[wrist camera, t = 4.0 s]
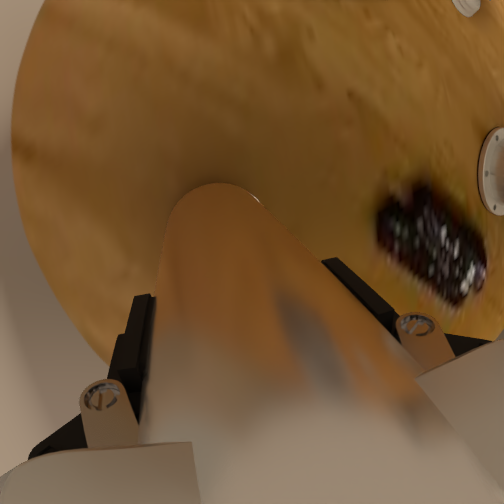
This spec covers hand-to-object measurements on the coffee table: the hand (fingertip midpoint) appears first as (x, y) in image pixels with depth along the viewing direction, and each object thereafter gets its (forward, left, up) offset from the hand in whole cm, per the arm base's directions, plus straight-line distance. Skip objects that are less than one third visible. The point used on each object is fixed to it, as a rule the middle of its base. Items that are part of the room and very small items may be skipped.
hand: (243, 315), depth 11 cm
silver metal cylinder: (0, 0, -10) cm, 10 cm away
